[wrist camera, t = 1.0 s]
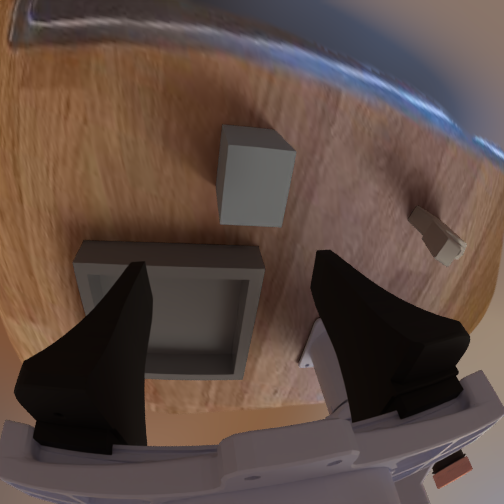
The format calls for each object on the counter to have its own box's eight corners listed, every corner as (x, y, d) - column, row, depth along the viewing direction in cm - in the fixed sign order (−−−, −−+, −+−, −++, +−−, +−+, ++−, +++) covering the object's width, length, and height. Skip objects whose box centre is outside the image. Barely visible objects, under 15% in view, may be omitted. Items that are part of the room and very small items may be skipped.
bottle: (393, 380, 43) (441, 488, 26) (371, 373, 40) (422, 496, 23) (427, 354, 40) (483, 462, 24) (408, 343, 37) (472, 468, 21)
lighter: (441, 220, 27) (492, 269, 20) (432, 235, 27) (480, 285, 21) (396, 191, 24) (453, 243, 18) (385, 208, 25) (439, 263, 18)
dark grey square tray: (258, 246, 25) (265, 269, 23) (239, 356, 33) (242, 379, 30) (83, 240, 22) (72, 262, 20) (109, 353, 30) (105, 375, 28)
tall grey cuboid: (274, 129, 20) (296, 151, 16) (264, 189, 23) (281, 227, 18) (222, 124, 19) (228, 144, 15) (215, 186, 22) (220, 224, 17)
